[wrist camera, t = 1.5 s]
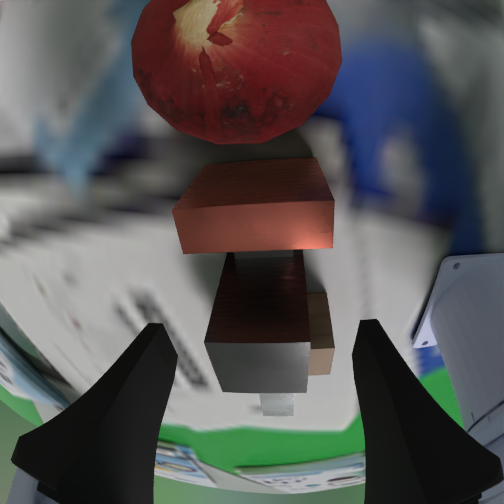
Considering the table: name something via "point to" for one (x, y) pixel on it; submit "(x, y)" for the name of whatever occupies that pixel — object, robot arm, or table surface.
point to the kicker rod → (259, 269)
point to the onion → (236, 65)
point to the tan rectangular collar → (319, 334)
